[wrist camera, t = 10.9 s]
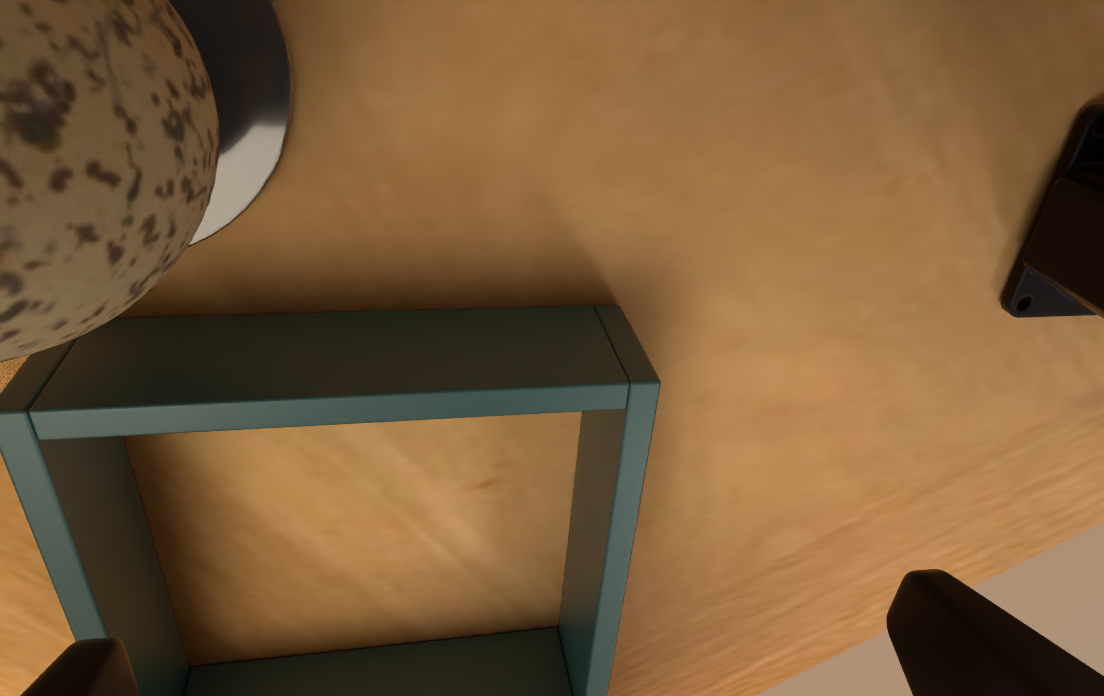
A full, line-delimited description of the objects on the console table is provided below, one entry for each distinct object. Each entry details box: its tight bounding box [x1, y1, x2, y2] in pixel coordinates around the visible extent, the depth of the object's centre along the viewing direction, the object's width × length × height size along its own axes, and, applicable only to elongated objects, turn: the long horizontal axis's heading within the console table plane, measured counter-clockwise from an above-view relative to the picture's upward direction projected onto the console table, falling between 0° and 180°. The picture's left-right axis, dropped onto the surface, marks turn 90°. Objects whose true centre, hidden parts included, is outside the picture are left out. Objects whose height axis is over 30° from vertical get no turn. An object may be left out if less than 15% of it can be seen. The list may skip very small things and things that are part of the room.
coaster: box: [169, 0, 293, 247], centre depth 16 cm, size 9×9×1 cm
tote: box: [0, 305, 661, 696], centre depth 22 cm, size 15×15×4 cm
